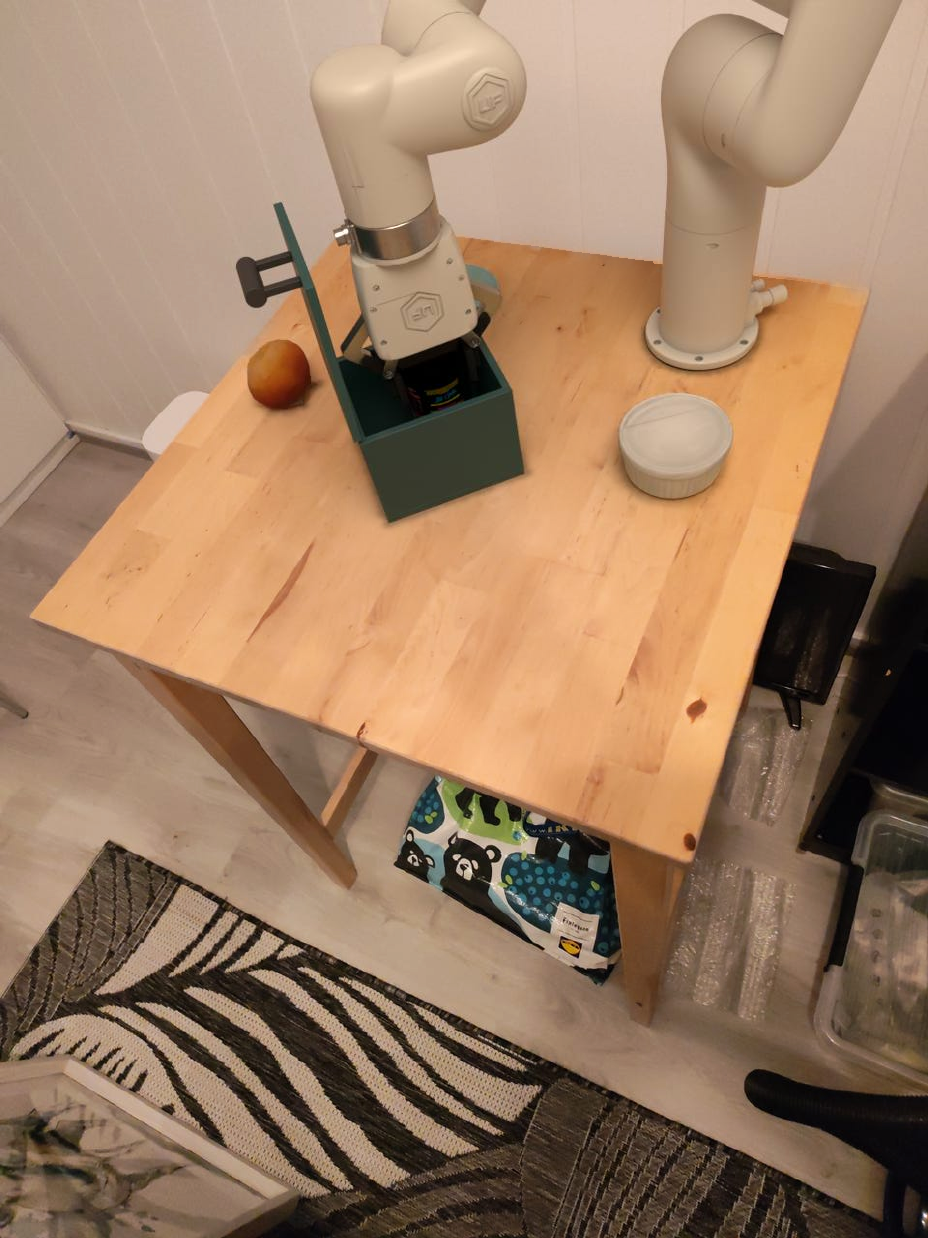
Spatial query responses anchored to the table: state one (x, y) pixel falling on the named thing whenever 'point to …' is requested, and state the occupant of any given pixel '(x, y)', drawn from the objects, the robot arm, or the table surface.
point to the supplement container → (435, 378)
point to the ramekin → (674, 444)
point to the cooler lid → (259, 294)
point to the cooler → (434, 439)
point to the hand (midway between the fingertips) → (436, 384)
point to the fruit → (279, 374)
